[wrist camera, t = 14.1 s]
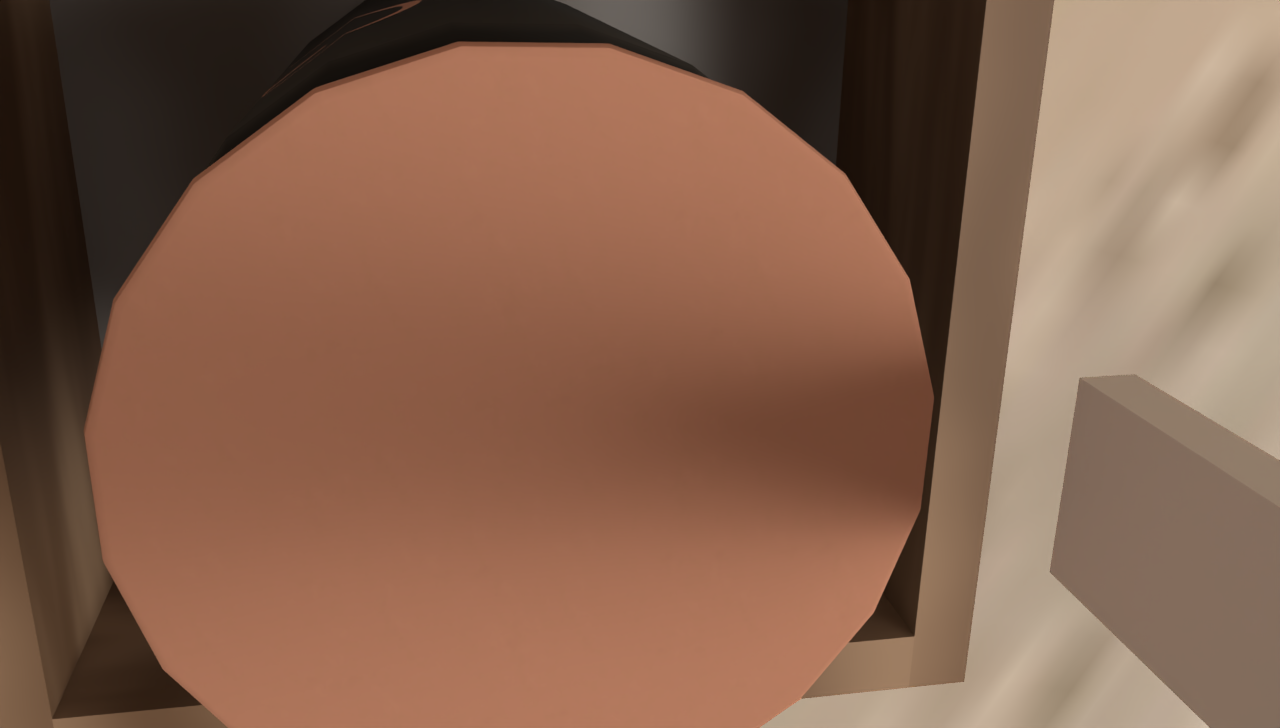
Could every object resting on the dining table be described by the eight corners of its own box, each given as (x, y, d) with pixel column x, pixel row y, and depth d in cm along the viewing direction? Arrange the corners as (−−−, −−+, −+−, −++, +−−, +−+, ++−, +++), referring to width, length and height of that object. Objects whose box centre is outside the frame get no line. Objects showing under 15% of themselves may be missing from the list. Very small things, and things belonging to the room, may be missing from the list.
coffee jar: (364, -108, 28) (303, -156, 12) (734, 98, 32) (1091, 283, 15) (194, 277, 31) (-56, 684, 14) (555, 429, 34) (694, 903, 18)
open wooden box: (88, 579, 34) (-11, 783, 26) (-63, -330, 26) (-273, -447, 18) (844, 521, 38) (963, 681, 30) (913, -278, 30) (1101, -353, 22)
